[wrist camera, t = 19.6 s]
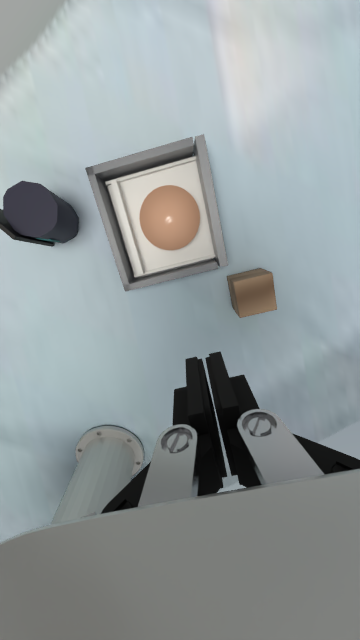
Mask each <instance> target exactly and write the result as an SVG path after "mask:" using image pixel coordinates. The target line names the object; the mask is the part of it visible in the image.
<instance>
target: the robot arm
mask: <svg viewBox="0 0 360 640" xmlns="http://www.w3.org/2000/svg"><path fill="white" fill-rule="evenodd" d="M209 356H210V357H207V358H205V359H206V364H207V369H208V374H209V379H210V384H211V389H212V394H213V399H214V404H215V409H216V413H217V417H218V421H219V426H220V430H221V434H222V438H223V442H224V446H225V450H226V454H227V459H228V463H229V467H230V471H231V475H232V476H233V475H238V479H239V483H240V485H243V486H245V487H247V488H243V489H237V490H231V491H226V492H220V493H217V492H218V490H219V489H220V488H223V482H222V477H227V473H226V468H225V463H224V457H223V452H222V447H221V442H220V437H219V431H218V426H217V421H216V416H215V411H214V406H213V402H212V398H211V394H210V390H209V386H208V382H207V378H206V373H205V369H204V365H203V361H202V359H197V357H193V358H189V359H186V383H187V387H183V388H178V389H175V390H174V407H173V426H172V427H169V428H168V429H166V430H165V431H163V432H162V434H161V435H160V436H159V438H158V440H157V443H156V446H155V450H154V453H153V457H152V460H151V462H150V463H149V464H148V465H147V466H146V467H145V468H144V469H143V470H142V471H141V472H140V473H139V474H138V475H137V476H136V477H135V478H134V479H133V480H132V481H131V477H132V476H133V475H134V474H136V473H137V472H138V470H139V469H140V468H141V466H142V463H143V457H144V451H143V447H142V444H141V443H140V441H139V440H138V439H137V437H136V436H135V435H133V434H132V433H130V432H129V431H127V430H125V429H123V428H119V427H115V426H100V427H96V428H93V429H91V430H89V431H87V432H86V433H85V434H84V435H83V436H82V437H81V438H80V440H79V442H78V444H77V447H76V459H77V462H78V465H77V467H76V469H75V471H74V474H73V476H72V478H71V480H70V483H69V485H68V487H67V489H66V491H65V494H64V496H63V498H62V500H61V502H60V505H59V507H58V509H57V511H56V514H55V516H54V518H53V520H52V522H51V525H47V526H43V527H40V528H36V529H33V530H30V531H27V532H24V533H21V534H19V535H17V536H14V537H12V538H9V539H7V540H5V541H3V542H1V543H0V640H360V460H358V459H356V458H354V457H351V456H349V455H346V454H344V453H341V452H338V451H336V450H333V449H331V448H328V447H326V446H323V445H321V444H318V443H315V442H313V441H310V440H308V439H305V438H303V437H300V436H298V435H295V434H292V433H291V432H290V430H289V429H288V428H287V427H286V425H285V424H284V423H283V422H282V420H281V419H280V418H279V417H278V416H277V415H276V414H275V413H273V412H271V411H269V410H265V409H259V407H258V404H257V402H256V400H255V398H254V396H253V393H252V391H251V389H250V387H249V385H248V382H247V380H246V378H245V376H244V375H240V376H235V377H230V378H229V376H228V373H227V370H226V367H225V364H224V361H223V358H222V355H221V352H216V353H211V354H209Z"/></svg>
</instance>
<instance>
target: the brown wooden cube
mask: <svg viewBox="0 0 360 640" xmlns="http://www.w3.org/2000/svg"><path fill="white" fill-rule="evenodd" d="M227 280H228V285H229V290H230V296H231V301H232V306H233V309H234V310H235V312H236V313H237V314H238V316H239V317H240V318H242V317H246V316H250V315H255V314H259V313H264V312H268V311H272V310H277V306H276V298H275V290H274V283H273V275H272V273H271V272H269V271H266V270H264V269H262V268H259V269H255V270H250V271H246V272H242V273H238V274H234V275H230V276H227Z"/></svg>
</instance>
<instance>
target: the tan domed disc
mask: <svg viewBox="0 0 360 640" xmlns="http://www.w3.org/2000/svg"><path fill="white" fill-rule="evenodd" d="M139 219H140V226H141V229H142V232H143V234H144V235H145V237H146V238H147V240H148V241H149V242H150V243H151V244H153V245H154V246H156V247H158V248H160V249H163V250H177V249H180V248H182V247H184V246H186V245H187V244H189V243H190V242H191V241H192V240H193V238H194V237H195V235H196V233H197V231H198V228H199V224H200V212H199V208H198V205H197V203H196V201H195V199H194V198H193V197H192V195H191V194H190V193H189V192H187V191H186V190H185V189H183V188H181V187H178V186H174V185H165V186H161V187H158V188H156V189H154V190H153V191H151V192H150V193H149V194H148V195H147V197H146V198H145V199H144V201H143V203H142V206H141V209H140V217H139Z"/></svg>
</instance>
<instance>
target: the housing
mask: <svg viewBox="0 0 360 640" xmlns="http://www.w3.org/2000/svg"><path fill="white" fill-rule="evenodd" d="M193 148H194V143H193V138H192V137H190V138H187V139H183V140H180V141H177V142H173V143H170V144H166V145H163V146H159V147H156V148H153V149H149V150H146V151H142V152H139V153H135V154H132V155H129V156H125V157H122V158H118V159H115V160H112V161H108V162H105V163H101V164H98V165H94V166H91V167H88V168H85V169H86V172H87V175H88V178H89V181H90V184H91V187H92V190H93V193H94V197H95V200H96V203H97V206H98V209H99V212H100V215H101V218H102V221H103V225H104V228H105V231H106V234H107V237H108V240H109V243H110V246H111V249H112V252H113V256H114V259H115V262H116V265H117V268H118V271H119V274H120V277H121V280H122V283H123V287H124V290H125V291H129V290H133V289H137V288H141V287H145V286H149V285H153V284H157V283H161V282H165V281H170V280H174V279H178V278H182V277H186V276H190V275H194V274H198V273H202V272H206V271H210V270H214V269H218V265H217V262H216V261H215V260H213V258H210V259H206V260H202V261H198V262H194V263H190V264H186V265H182V266H178V267H174V268H170V269H166V270H162V271H158V272H154V273H150V274H146V275H142V276H138V277H134V272H133V268H132V265H131V262H130V258H129V255H128V252H127V249H126V245H125V242H124V239H123V235H122V232H121V229H120V226H119V222H118V219H117V216H116V212H115V209H114V206H113V202H112V199H111V196H110V193H109V189H108V186H107V185H106V183H105V182H106V181H110V180H113V179H117V178H120V177H124V176H127V175H131V174H134V173H138V172H141V171H145V170H148V169H152V168H155V167H159V166H162V165H166V164H169V163H173V162H176V161H180V160H183V159H187V158H190V157H192V155H193Z"/></svg>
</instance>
